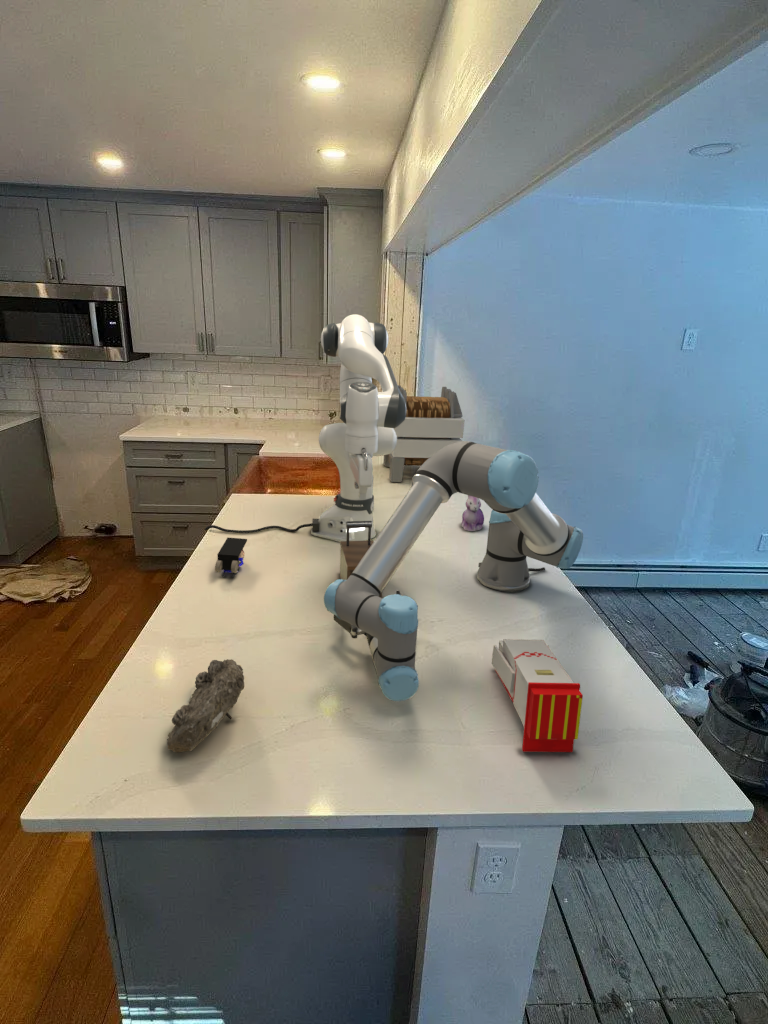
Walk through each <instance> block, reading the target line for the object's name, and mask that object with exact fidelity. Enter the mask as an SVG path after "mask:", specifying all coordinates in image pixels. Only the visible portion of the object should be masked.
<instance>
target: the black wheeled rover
mask: <svg viewBox="0 0 768 1024" xmlns="http://www.w3.org/2000/svg"><path fill="white" fill-rule="evenodd" d="M247 542H248V538H240V537H226V539H225V541H224V543H223V544H222V546H221V547H220V549H219V551H218V552H217V560H216V562H215V564H214V572H215V573H221V577H222V578H224V577H225V576H226V574H227V573H230V574H231V573H232V574H231V578H234V577H235V575H236V573H237V572H239V571H240V567H242V566H243V565H244V564H245V562H244V558H245V551H244V547H245V546H246V544H247Z"/></svg>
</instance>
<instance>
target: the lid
mask: <svg viewBox="0 0 768 1024" xmlns="http://www.w3.org/2000/svg"><path fill="white" fill-rule="evenodd" d="M346 528H347V538H346V541H341V542H339V545H340V547H341V549H342V553H343V556H344V560H345V564H346V567H347V570H355V568H356V567H357V565H358V564H359V562H360V561H361V559H362V558H363V557H364V555H365V554H366V552H367V551H368V549H369V548H370V546H371V545H372V543H373V542H374V541H375V540H373V539H371V528H372V521H346ZM349 528H368V540H365V541H349Z"/></svg>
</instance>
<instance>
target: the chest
mask: <svg viewBox="0 0 768 1024" xmlns="http://www.w3.org/2000/svg"><path fill="white" fill-rule="evenodd" d="M339 550H340V554H339V555H340V556H339V561H340V562H339V575H340V579H343V580H347V579H348V578H349V576H350V575H351V574H352V572H353V571H354V570H347V567H346V564H345V560H344V556H343V553H342V549H341V546H340V549H339ZM379 597H380V598H383V591H382V592H381V594H380V596H379Z"/></svg>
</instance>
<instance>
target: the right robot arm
mask: <svg viewBox="0 0 768 1024" xmlns="http://www.w3.org/2000/svg"><path fill="white" fill-rule="evenodd" d="M538 474H539V468H538V465H537V463H536V461H535V459H534V458H532V457H531V455H528V454H526V453H523V452H521V451H518V450H515V449H504V448H500V447H497V446H492V445H486V444H482V443H478V442H474V441H468V440H462V441H460V442H455V443H452V444H450V445H447V446H445V447H443V448H442V449H440V450H439V451H437V452H436V453H434V454H433V455H432V456H431V457H430V458H428V459H427V460H426V461H425V462H424V463H423V464H422V465H421V466H419V468H418V469H417V470H416V471H415V473H414V475H413V476H412V478H411V480H412V481H411V482H412V485H411V487H410V489H408V491H407V493H406V494H405V495H404V497H403V498H402V500H401V501H400V503H399V504H398V506H397V507H396V509H395V510H394V512H393V513H392V514H391V516H390V517H389V518H388V521H386V523H385V525H384V526H383V528H382V529H381V530H380V532H379V533H378V534H377V536H376V538H375V539H374V540H373V541H374V542H373V543H372V545H371V546H370V548H369V549H368V551H367V552H366V554H365V555H364V557H363V558H362V559H361V561H360V562H359V564H358V565H357V567H356V568H355V570H354V571H353V572H352V574H351V575H350V576H349V578H348V579H347V580H343V579H341V578H339V579H334V581H333V582H331V583H330V584H329V585H328V586H327V587H326V590H325V592H324V596H323V604H324V607H325V609H326V611H328V612H329V613H331V614H333V621H334V622H336V624H338V625H339V626H340V627H341V628H343V629H344V630H345V631H347V632H348V633H349V634H350V637H351V638H352V639H358V636H361V635H363V636H365V637H366V641H367V644H368V646H369V647H368V649H369V651H370V654H371V658H372V662H373V665H374V668H375V672H376V675H377V676H376V677H377V683H378V685H379V686H380V690H381V692H382V694H383V696H384V697H385V698H386V699H388V700H390V701H393V702H405V701H406V700H410V699H412V697H414V696H415V695H416V693H417V692H418V690H419V686H420V679H419V673H418V671H417V670H416V656H417V655H416V654H417V652H416V650H417V649H416V648H417V638H418V637H417V636H418V627H419V618H418V617H419V616H418V613H419V605H418V604H417V601H416V600H415V599H413V598H412V597H410V596H408V595H402V593H401V592H400V590H396V592H395V593H394V594H389V595H388V594H387V595H386V596H383V597H382V598H380V597H379V596H380V594H381V592H382V593H383V591H384V590H385V588H386V587H387V585H388V584H389V582H390V581H391V579H392V578H393V576H394V574H395V573H396V571H398V569H399V567H400V565H401V564H402V563H403V561H404V560H405V558H406V557H407V555H408V553H409V552H410V551H411V549H412V548H413V546H414V544H415V543H416V541H417V540H418V539H419V537H420V535H421V534H422V533H423V531H424V529H425V528H426V527H427V525H428V523H430V521H431V520H432V518H433V516H434V515H435V513H436V512H437V510H438V508H440V506H441V504H445V503H447V502H449V500H450V499H451V497H452V496H453V495H454V494H457V493H459V494H464V495H466V496H468V495H469V496H473V497H476V498H479V500H482V501H483V502H484V503H485V504H486V505H487V506H488V507H489V508H490V509H491V512H490V517H489V521H488V531H487V542H486V551H485V555H484V557H483V559H482V561H481V562H478V570H477V581H478V582H479V583H480V584H482V585H483V586H484V587H487V588H489V589H491V590H495V591H498V592H499V591H500V592H505V593H506V592H507V593H508V592H510V593H512V592H513V593H515V592H521V591H523V590H526V589H527V588H528V587H529V586H530V582H531V575H530V572H532V573H533V572H535V573H536V572H537V573H538V572H544V571H546V567H540V568H535V567H533V568H531V567H530V568H529V565H528V562H527V561H528V560H527V558H530V559H534V560H536V561H539V562H542V563H545V564H547V565H550V566H553V567H556V568H559V569H563V570H568V569H570V568H571V567H572V566H573V565H574V564H575V562H576V560H577V559H578V556H579V554H580V552H581V549H582V545H583V542H584V531H583V529H581V528H579V527H577V526H572V525H569V524H567V522H566V521H565V519H564V518H562V517H561V516H560V515H558V514H556V513H553V512H551V511H550V509H549V508H548V507H547V505H546V504H545V503H544V501H543V500H542V499H541V498H540V496H539V494H538V493H537V490H538V486H539V481H540V477H539V475H538Z"/></svg>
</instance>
